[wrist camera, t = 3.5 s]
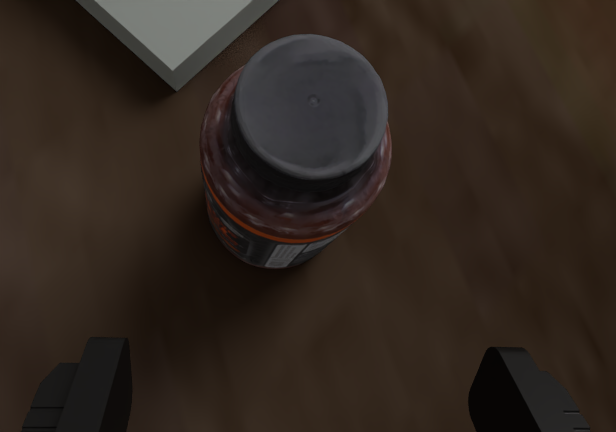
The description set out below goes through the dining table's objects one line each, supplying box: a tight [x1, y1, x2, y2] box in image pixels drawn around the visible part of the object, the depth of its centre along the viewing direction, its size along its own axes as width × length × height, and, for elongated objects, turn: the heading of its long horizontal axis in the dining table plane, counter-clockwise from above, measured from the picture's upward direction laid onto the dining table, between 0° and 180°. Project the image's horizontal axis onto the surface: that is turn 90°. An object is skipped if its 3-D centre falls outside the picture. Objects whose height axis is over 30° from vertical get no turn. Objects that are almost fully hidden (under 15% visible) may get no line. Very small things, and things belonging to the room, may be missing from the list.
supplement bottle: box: [200, 34, 392, 269], centre depth 19 cm, size 6×6×11 cm
